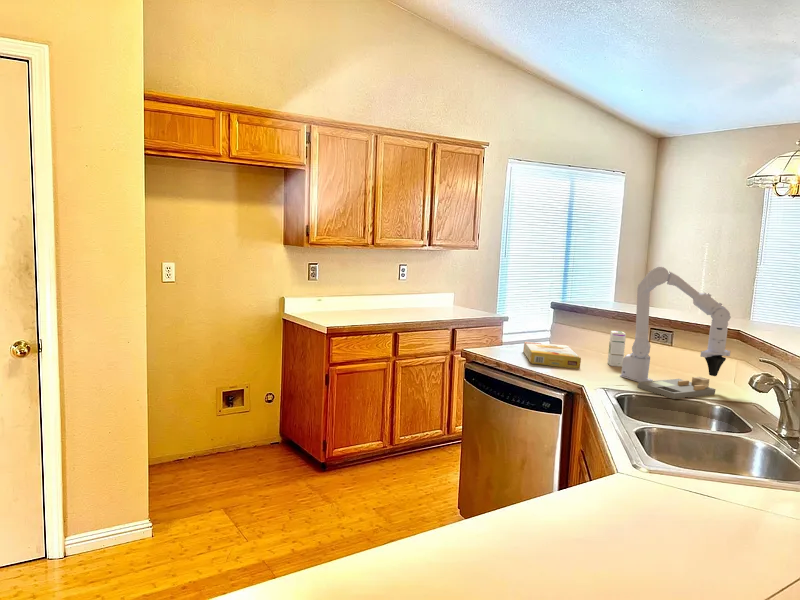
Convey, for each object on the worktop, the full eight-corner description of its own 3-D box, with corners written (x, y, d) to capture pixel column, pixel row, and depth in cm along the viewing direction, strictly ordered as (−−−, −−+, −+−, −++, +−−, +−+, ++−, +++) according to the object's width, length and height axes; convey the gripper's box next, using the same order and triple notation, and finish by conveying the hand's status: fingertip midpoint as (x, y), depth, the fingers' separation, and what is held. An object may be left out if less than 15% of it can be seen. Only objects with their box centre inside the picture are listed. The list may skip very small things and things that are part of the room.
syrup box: (623, 367, 250) (626, 333, 248) (608, 365, 251) (612, 332, 249) (620, 364, 255) (624, 331, 254) (606, 362, 257) (610, 330, 255)
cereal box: (532, 351, 242) (523, 339, 270) (530, 365, 242) (522, 351, 270) (582, 357, 240) (568, 344, 268) (580, 370, 241) (566, 356, 269)
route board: (637, 387, 215) (638, 378, 214) (678, 383, 225) (679, 374, 225) (673, 399, 202) (674, 389, 201) (714, 394, 212) (716, 385, 212)
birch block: (691, 385, 216) (692, 377, 215) (698, 384, 217) (699, 376, 217) (701, 388, 212) (702, 379, 212) (708, 387, 214) (709, 379, 214)
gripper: (715, 342, 209) (710, 379, 211) (740, 340, 216) (735, 377, 217) (697, 338, 215) (692, 374, 217) (721, 337, 222) (717, 372, 224)
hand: (712, 375), depth 218 cm, fingers closed
